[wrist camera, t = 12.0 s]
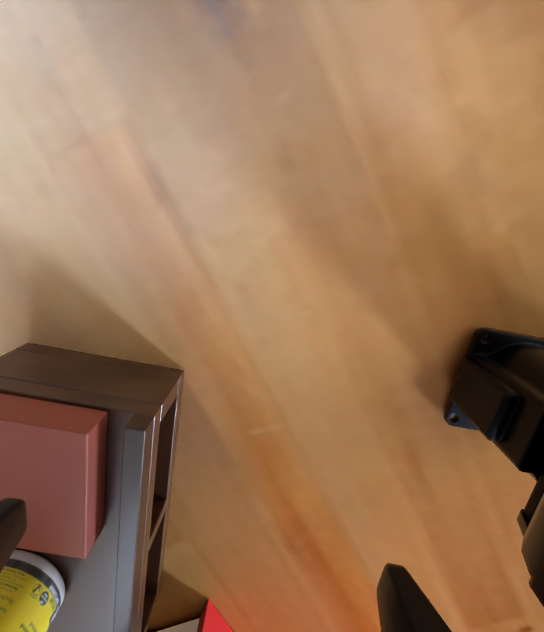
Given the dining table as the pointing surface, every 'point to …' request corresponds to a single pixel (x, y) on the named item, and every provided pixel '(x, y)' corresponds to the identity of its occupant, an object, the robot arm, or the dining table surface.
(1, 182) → the dining table surface
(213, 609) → the book
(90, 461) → the red book
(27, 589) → the supplement bottle
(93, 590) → the walnut shelf
